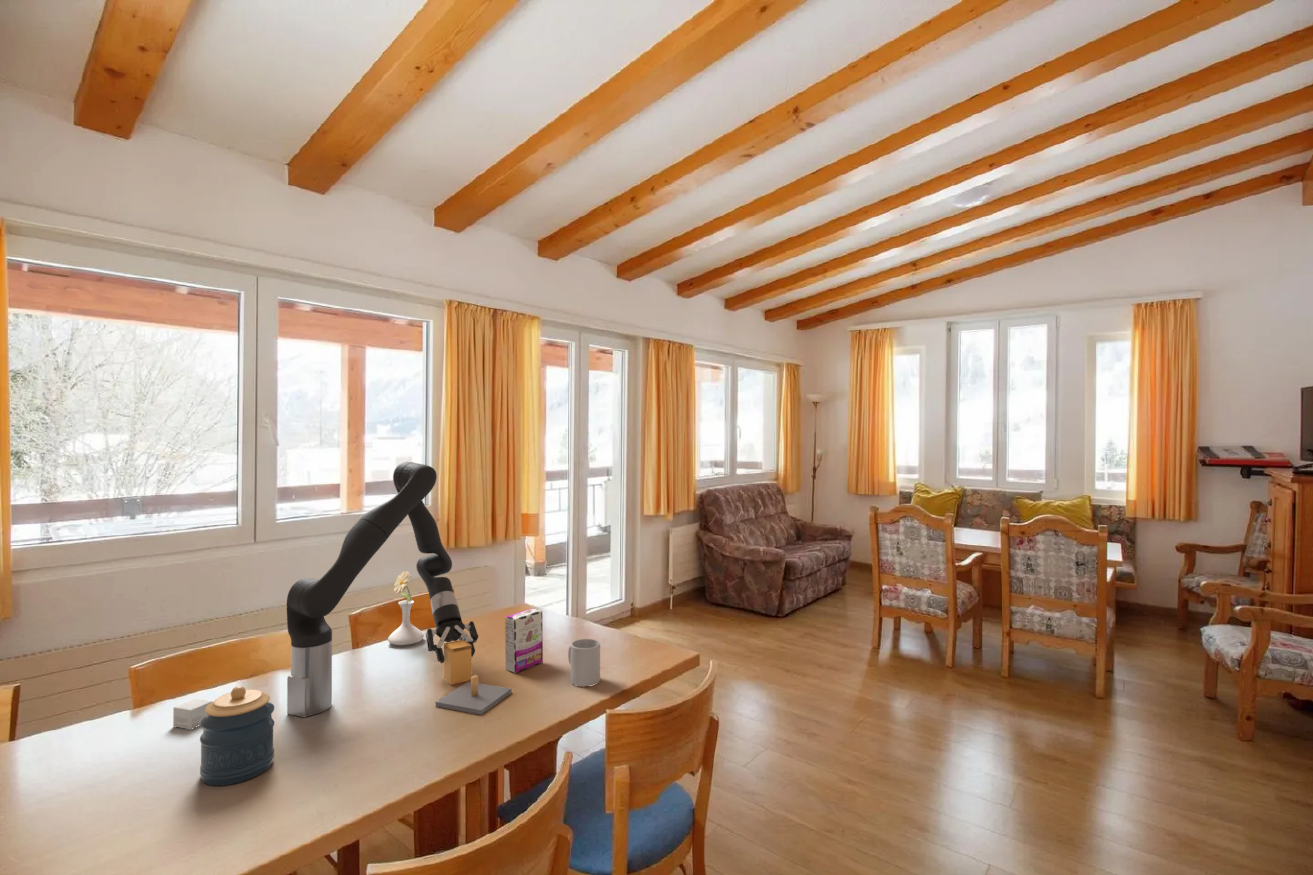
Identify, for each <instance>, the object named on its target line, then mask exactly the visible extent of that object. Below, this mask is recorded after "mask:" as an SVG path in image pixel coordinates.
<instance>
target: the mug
mask: <svg viewBox="0 0 1313 875" xmlns="http://www.w3.org/2000/svg"><path fill="white" fill-rule="evenodd" d="M567 654H568V663H569V666H570V680H569V681H570V683H572V684H574V685H577V686H589V685H593V684H596V683H598V682H599V681H601V642H600V641H599V640H596V639H591V638H581V639H576V640H574V641H572V642H571V644H570V645H569V646H568V653H567ZM599 683H600V682H599ZM599 683H598V684H599ZM572 684H571V685H572ZM574 685H573V686H574ZM577 686H576V687H577Z"/></svg>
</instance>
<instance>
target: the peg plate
mask: <svg viewBox="0 0 1313 875" xmlns="http://www.w3.org/2000/svg"><path fill="white" fill-rule="evenodd" d="M512 692H513V691H512V688H509V687H505V686H504V687H503V686H498V685H492V684H491V685H490V684H487V683H486V684H485V683H481V682H479V675H477V674H474V675H471V680H470V681H466V682H465V683H464V684H462V685H461V686H459V687H457V688H456V689H454V690H452V691H451V692H449V693H447V694H446V695H445V696H443V697H441V698H439V699H437V700H436V701H435V707H436V708H442V709H447V710H453V711H459V712H464V713H469V714H475V715H479V716H480V715H481V716H482V715H483V714H485V713H486V712H488V711H489V710H491V708H493V707H494V706H495V704H496V705H497V704H498V703H500V702H501V701H502V700H504V699H506V697H508V696H510V693H511V694H512Z"/></svg>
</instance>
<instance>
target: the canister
mask: <svg viewBox="0 0 1313 875" xmlns="http://www.w3.org/2000/svg"><path fill="white" fill-rule="evenodd" d="M270 699H271V696H270V695H269V694H268V693H266V692H264V691H261V690H259V689H246V688H245V686H243V685H237V686H235V687H233V688H232V690H231V691H230V692H228V693H225V694H222V695H221V696H217V697H216V698H215V699H214V700H213V701H212V703H210V704H209V705H208V706H207V707H206V709H205V712H206V715H205V716H204V717H203V718H202V719H201V721H200V725H201V726H200V727H201V728H202V729H203V730H202V734H200V736H199V742H200V766H199V775H200V776H201V781H202V783H204V784H206V785H209V786H214V787H215V786H218V785H221V786H228V785H229V784H230V785H234V784H233V783H235V784H238V782H239V783H243V782H245V780H246V781H247V780H250V779H253V778H255V777H258V776H259V775H261V774H263V773H264V772H265V771H267V770H268V769H269V768H270V767H271V765H272V764H273V761H274V757H275V748H274V726H275V721H274V719H273V718H272V714H273V712H274V711H275V706H274V704H273V703H272V702H270ZM218 787H219V786H218Z"/></svg>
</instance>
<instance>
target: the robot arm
mask: <svg viewBox="0 0 1313 875" xmlns="http://www.w3.org/2000/svg"><path fill="white" fill-rule="evenodd" d="M392 476H393V477H392V481H393V484H394V487H395V490H396V492H397V494H396V495H395V496H393V497H392V498H391V499H389V500H388V501H385V502H383V503H382V504H380V505H378V506H376V507H374V508H372V509H371V510H369V511H368V512H366V513H365V514H363V515H362V517H360V518H359V519H358V520H357V521H356V523H355V524H353V526H352V527H351V528H350V530H348V532H347V533H346V535H345V537H344V540H343V543H342V545H341V549H340V552H339V554H338V557H337V558H336V560H335V562H334V563H333V565H332V566H331V567H330V568H329V569H328V570H327V572H326V573H324V575H323V576H321V578H319V579H317V578H309V577H305V578H301V579H299V580H298V581H295V583H293V585H292V586H291V587H290V589H289V591H288V593H287V596H286V623H287V624H286V626H287V632H288V635H289V637H290V674H289V675H288V676H287V679H286V680H287V682H286V683H287V684H286V686H287V687H286V689H287V690H286V691H287V692H286V694H287V695H286V696H287V697H286V698H287V699H286V700H287V702H286V706H287V708H286V709H287V710H286V713H287V714H288V715H291V716H292V715H293V716H297V717H302V718H307V717H309V716H312V715H317V714H321V713H323V712H325V711H327V710H329V709H330V708H331V707H332V705H333V704H332V699H333V698H332V696H333V689H332V688H333V684H332V683H333V630H332V628H331V627H330V625H329V624H328V623H327V621H326V620H325V619H326V618H325V617H326V616H328V615H329V614H330V613H331V612H333V611H334V609H335V608H336V607H337V605H338V604H339V603H340V601H342V599H343V597H344V596H345V594H346V592H347V591H348V590H349V588H350V586H351V585H352V584H353V583H354V581H355V579H356V578H357V577H358V575H359V574H360V573H361V572H362V570H364V568H365V566H366V565H367V564H368V563H369V561H370V560H371V559H372V558H373V557H374V556H375V555H376V553H377V552H378V551H379V550H380V548H381V547H382V546H383V545H384V544H385V543H386V542H387V540H388V539H389V538H390V536H391V535H392V534H393V532H394V531H395V530H396V528H398V526H400V524H402V522H403V521H404V520H405V518H406V517H407V516H408V519H409V520H410V524H411V527H412V530H413V534H414V538H415V542H416V545H417V548H418V551H419V552H420V553H421V554H428V555H425V556H422V557H420V558H419V559H417V562H416V565H415V566H416V572H417V573H418V575H419V576H420V578H421V579H422V581H423V582H424V584H425V586H426V588H427V592H428V595H429V600H430V606H431V607H430V608H431V613H432V616H433V619H434V624H435V625H434V626H435V629H432V628H427V631H426V633H425V638H426V645H427V650H428V651H427V652H435V655H436V660H437V661H438V662H440V664H444V649H443V648H442V647H443V645H444V642H445V643H450V642H455V641H460V640H465V641H467V642H468V643H469V644H470V645H471V658H473V656H474V655H475V653H476V649H475V644H474V643H477V640H478V639H479V634H478V631H477V628H476V625H475V623H474V621H473V620H472V621H469V622H468V623H463V620H462V615H461V612H460V609H459V608H460V607H459V605H458V601H457V598H456V595H455V593H454V590H453V585H452V582H451V580H450V578H448V577H447V576H446V577H445V576H441V575H445V574H447V573H450V572H451V570H452V568H453V561H452V557H450V555H449V553H448V552H447V551H446V548H445V547H444V545H443V543H442V539H441V537H440V536H441V535H440V532H439V527H438V525H437V522H436V520H435V518H434V517H433V515H432V513H431V512H430V510H429V509H428V508H427V506H426V505H425V503H424V501H423V500H424V499H425V498H426V497H427V496H428V495H429V494H430V493H431V491H432V490H433V489H434V487H435V485H436V483H437V478H438V477H437V476H438V474H437V471H436V470H435V468H433V467H432V466H430V465H428V464H423V463H417V462H413V461H403V462H401V463H399V464H398V465H397V466H396V467H395V469H394V471H393V474H392ZM429 554H430V555H429ZM465 630H466V631H468V632H469V635H468V633H467V632H466V631H465ZM435 635H436V636H437V637H438V638H439V640H438V642H437V644H435V642H434V637H435Z"/></svg>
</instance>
